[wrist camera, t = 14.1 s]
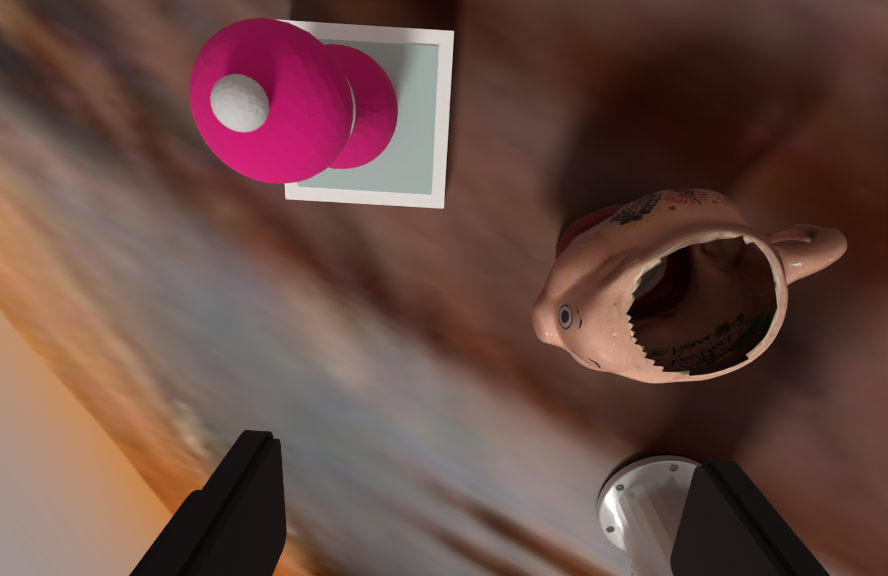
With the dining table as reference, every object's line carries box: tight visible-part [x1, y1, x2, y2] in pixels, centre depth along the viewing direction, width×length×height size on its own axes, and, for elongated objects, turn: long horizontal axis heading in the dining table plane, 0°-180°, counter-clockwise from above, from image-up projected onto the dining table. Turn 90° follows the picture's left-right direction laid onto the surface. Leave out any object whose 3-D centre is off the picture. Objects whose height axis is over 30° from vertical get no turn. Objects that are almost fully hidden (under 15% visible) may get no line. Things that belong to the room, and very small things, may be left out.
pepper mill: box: [189, 18, 398, 183], centre depth 24 cm, size 7×7×20 cm
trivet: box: [279, 20, 454, 208], centre depth 35 cm, size 12×12×3 cm
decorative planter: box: [532, 188, 847, 383], centre depth 33 cm, size 20×12×14 cm, turn 116°
